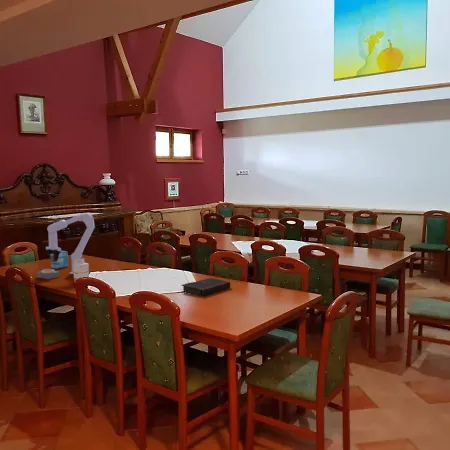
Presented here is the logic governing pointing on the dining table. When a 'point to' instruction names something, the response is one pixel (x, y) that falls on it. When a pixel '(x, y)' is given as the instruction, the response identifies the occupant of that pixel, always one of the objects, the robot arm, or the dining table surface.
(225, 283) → the diary
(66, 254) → the data package
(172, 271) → the dining table surface
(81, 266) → the ink cartridge box
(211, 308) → the dining table surface
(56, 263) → the lens
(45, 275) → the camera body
